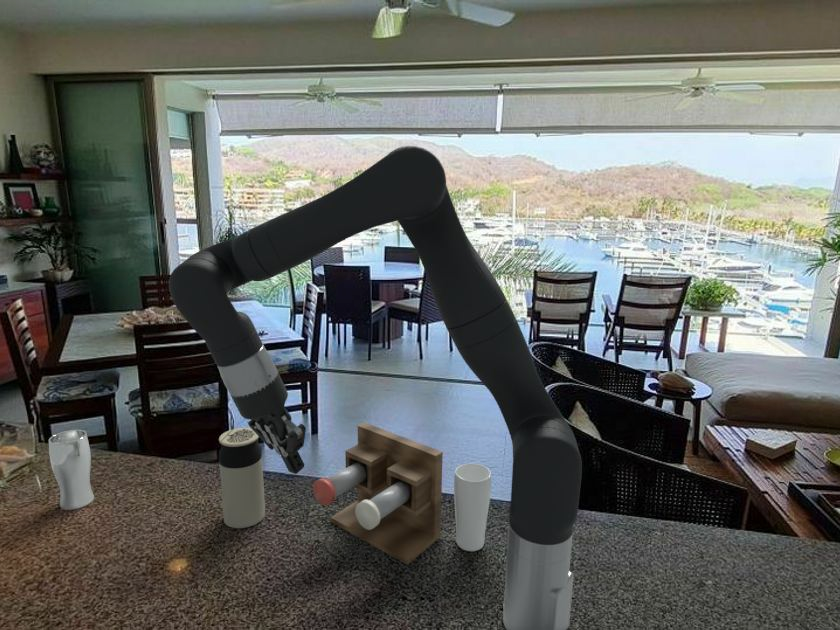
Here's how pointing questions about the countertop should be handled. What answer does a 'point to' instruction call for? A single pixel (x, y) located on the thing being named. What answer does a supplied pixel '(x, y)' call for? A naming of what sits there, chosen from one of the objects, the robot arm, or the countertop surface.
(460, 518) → the drinking glass
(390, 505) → the ivory button
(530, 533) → the robot arm
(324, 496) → the red button
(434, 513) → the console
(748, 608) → the countertop surface
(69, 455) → the beer glass
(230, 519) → the travel mug
